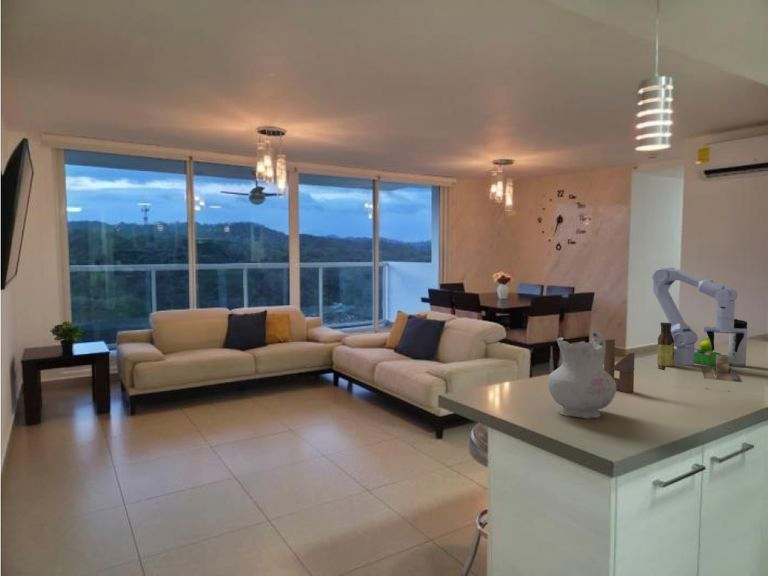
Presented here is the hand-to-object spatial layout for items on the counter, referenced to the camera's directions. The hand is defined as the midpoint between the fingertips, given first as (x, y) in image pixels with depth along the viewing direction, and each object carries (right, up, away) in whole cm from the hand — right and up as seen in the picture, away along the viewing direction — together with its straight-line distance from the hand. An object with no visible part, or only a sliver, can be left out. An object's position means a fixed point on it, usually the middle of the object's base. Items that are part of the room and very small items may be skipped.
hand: (724, 350), depth 203 cm
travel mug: (+16, -9, +15) cm, 24 cm away
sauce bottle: (-18, -9, +11) cm, 23 cm away
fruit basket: (+5, -8, +20) cm, 23 cm away
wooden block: (-53, -12, -21) cm, 59 cm away
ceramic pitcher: (-76, -13, -47) cm, 91 cm away
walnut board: (-6, -10, -6) cm, 13 cm away
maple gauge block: (-1, -8, 0) cm, 8 cm away
